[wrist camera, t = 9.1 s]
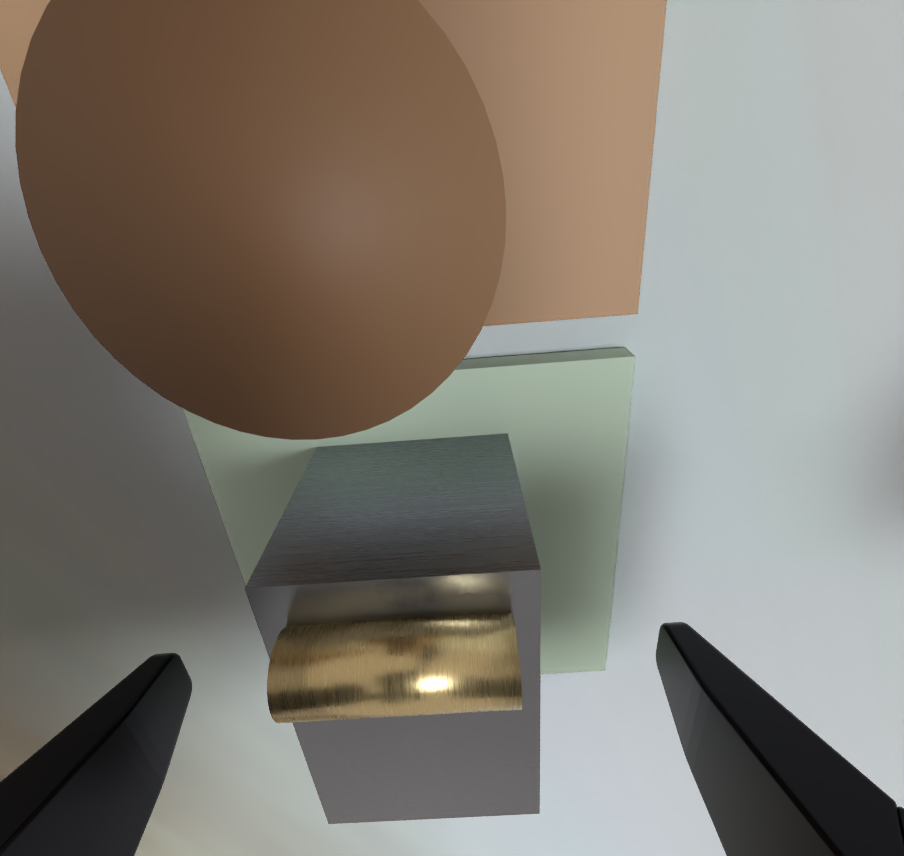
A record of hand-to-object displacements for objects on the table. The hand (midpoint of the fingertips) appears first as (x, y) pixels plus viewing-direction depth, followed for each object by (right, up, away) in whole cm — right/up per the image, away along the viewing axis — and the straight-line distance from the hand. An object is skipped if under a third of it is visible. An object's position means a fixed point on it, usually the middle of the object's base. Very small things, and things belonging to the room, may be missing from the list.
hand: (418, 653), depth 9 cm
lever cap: (0, +1, +2) cm, 3 cm away
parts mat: (0, +2, +3) cm, 3 cm away
